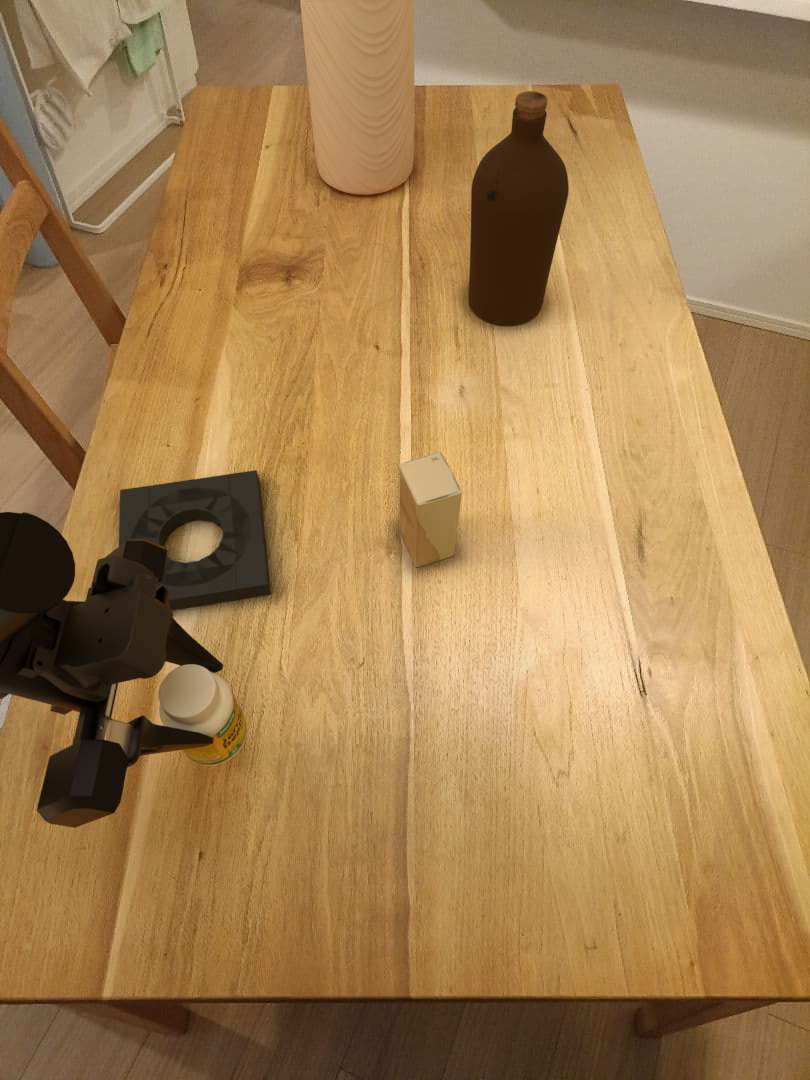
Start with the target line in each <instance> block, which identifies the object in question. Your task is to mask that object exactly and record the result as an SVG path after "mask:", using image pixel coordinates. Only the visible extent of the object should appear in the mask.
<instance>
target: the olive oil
mask: <svg viewBox="0 0 810 1080" xmlns="http://www.w3.org/2000/svg"><path fill="white" fill-rule="evenodd" d="M514 106H515V107H514V109H513V110H512V117H511V118H512V119H511V131H510V133H509V134H508V135H507V136H506V137H504V138H503V139H502V140H500V141H499V142H498V143H496V144H495V145H494V146H493V147H492V148H491V149H489V150H488V151H487V152H486V153H485V154H484V155H483V157H482V159H480V161H479V164H478V166H477V167H476V170H475V172H474V175H473V178H472V183H471V188H470V189H471V190H470V191H471V193H470V240H469V241H470V244H469V273H468V274H469V276H468V296H467V297H468V304H469V307H470V309H471V310H472V312H473V313H474V314H475V315H476V316H477V317H479V318H480V319H481V320H483V321H486V322H487V323H490V324H492V325H497V326H503V327H504V326H506V327H507V326H508V327H509V326H510V327H511V326H518V325H522V324H525V323H528V322H529V321H531V320H533V319H534V318H536V317H537V316H538V315H539V313H540V312H541V310H542V308H543V304H544V299H545V295H546V290H547V286H548V282H549V277H550V273H551V268H552V264H553V259H554V255H555V252H556V248H557V247H556V246H557V244H558V238H559V235H560V230H561V228H562V227H561V226H562V224H563V219H564V215H565V210H566V207H567V203H568V198H569V192H570V191H569V190H570V187H569V177H568V171H567V167H566V165H565V163H564V161H563V159H562V157H561V156H560V154H559V153H558V152H557V151H556V150H555V149H554V147H553V145H552V144H550V142H549V141H548V140H547V139H546V137H545V136H544V131H545V126H546V120H547V116H548V115H547V111H546V109H547V107H548V98H547V96H546V95H545V94H544V93H541V92H538V91H534V90H530V91H529V90H527V91H523V92H520V93H519V94H517V95H516V97H515V101H514Z"/></svg>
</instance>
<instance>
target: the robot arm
mask: <svg viewBox="0 0 810 1080" xmlns="http://www.w3.org/2000/svg"><path fill="white" fill-rule="evenodd" d="M166 556H167V557H168V549H167V548H166V547H165V546H164V547H163V546H161V545H159V544H156V543H154V542H152V541H149V540H147V539H131V540H128V541H125V542H124V543H123V544H122V545H120V546H119V545H118V546H117V547H116V548H115V549H114V550H112V552H110V553H109V554H108V555H106V556H105V557H102V558H99V559H97V561H96V563H95V568H94V572H93V576H92V580H91V581H92V582H91V585H90V587H88V589H87V593H86V597H85V600H84V601H81V600H80V601H77V600H66V599H65V598H66V597H67V596H68V594H69V592H70V591H71V589H72V587H73V586H74V582H75V578H76V562H75V557H74V553H73V551H72V549H71V547H70V545H69V543H68V541H67V540H66V538H65V537H64V536H63V535H62V533H61V532H60V530H58V529H57V528H56V527H54V526H53V525H52V524H51V523H50V522H48V521H47V520H44V519H42V518H41V517H39V516H37V515H34V514H33V513H29V512H25V511H24V512H13V511H3V512H0V699H1V700H3V699H4V698H6V697H7V696H8V695H13V696H15V697H20V698H23V699H27V700H31V701H36V702H38V703H43V704H47V705H50V708H49V709H50V710H49V711H50V712H52V713H56V714H59V715H64V716H66V715H67V714H69V713H71V712H72V711H73V712H77V713H79V714H78V718H77V722H76V727H75V731H74V736H73V740H72V744H70V745H69V746H67V747H65V748H62V749H60V750H59V751H57V752H55V753H52V754H51V755H49V757H48V762H47V765H46V769H45V774H44V779H43V782H42V786H41V790H40V794H39V799H38V803H37V807H36V811H37V813H38V814H39V816H40V817H41V818H42V819H43V820H44V821H45V822H46V823H48V824H49V825H55V826H61V827H65V828H72V829H76V828H78V827H82V826H84V825H86V824H87V825H88V824H90V823H91V822H94V821H97V820H100V819H102V818H105V817H107V816H110V815H113V814H115V813H116V811H117V809H118V808H119V806H120V804H121V802H122V797H123V792H124V787H125V781H126V775H127V770H128V768H130V767H132V766H134V765H135V764H137V762H138V761H139V759H140V757H144V756H149V755H156V754H163V753H171V752H176V751H183V750H185V749H192V748H199V747H205V746H208V745H211V744H213V741H214V738H213V737H210V736H207V735H205V734H202V733H199V732H194V731H189V730H183V729H178V728H172V727H167V726H163V724H162V725H161V724H156V723H153V722H152V721H150V720H149V719H148V718H147V717H146V716H145V715H139V716H138V717H136V718H134V719H132V720H130V721H128V722H124V721H120V720H118V719H117V720H116V719H113V717H112V715H113V710H114V706H115V700H116V695H117V691H118V687H119V684H120V683H125V682H131V681H135V680H139V679H143V680H146V679H150V678H153V677H155V676H157V674H159V673H160V672H161V671H162V670H163V668H164V665H165V664H166V663H170V664H174V665H176V666H179V667H180V666H183V665H188V664H195V665H199V666H202V667H204V668H206V669H207V670H209V671H210V672H213V673H215V674H217V673H219V672H222V671H223V669H224V664H223V662H221V661H220V660H219V659H218V658H217V657H216V656H214V655H213V654H212V653H211V652H209V650H207V649H206V648H205V647H204V646H203V645H202V644H200V643H199V642H198V641H197V640H196V639H195V638H194V637H192V636H191V634H189V633H188V632H187V631H186V630H185V629H184V627H182V626H181V625H180V623H179V622H178V621H177V620H176V619H175V618H174V612H173V610H172V609H171V608H170V606H169V602H168V596H169V592H168V590H167V588H166V587H165V586H162V587H160V588H159V589H157V584H159V583H160V582H162V578H163V573H164V567H165V562H166Z"/></svg>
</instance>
